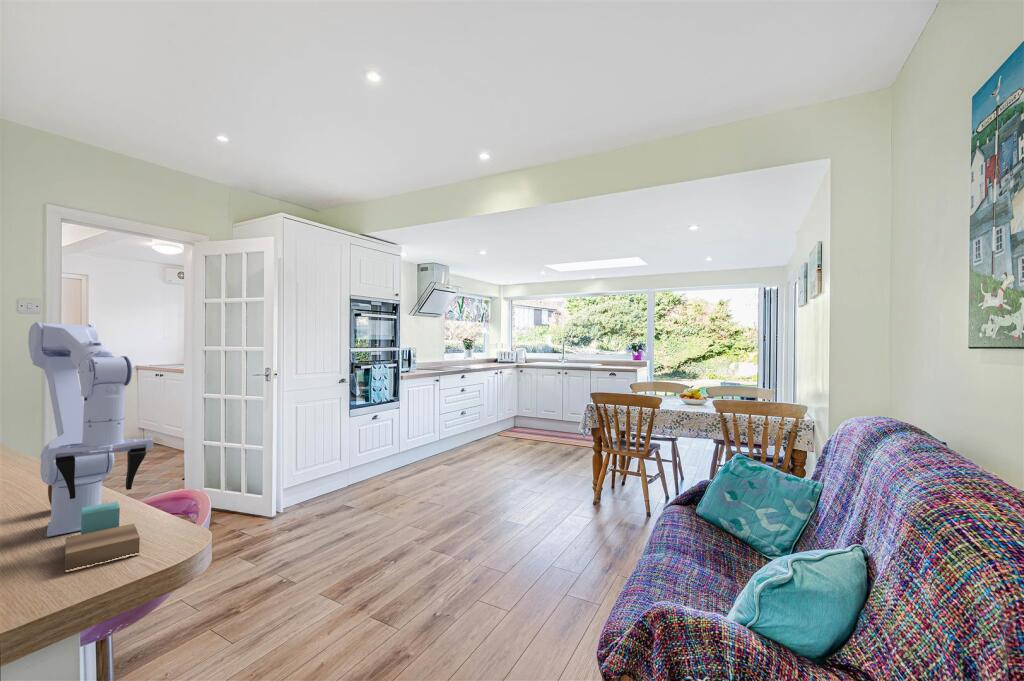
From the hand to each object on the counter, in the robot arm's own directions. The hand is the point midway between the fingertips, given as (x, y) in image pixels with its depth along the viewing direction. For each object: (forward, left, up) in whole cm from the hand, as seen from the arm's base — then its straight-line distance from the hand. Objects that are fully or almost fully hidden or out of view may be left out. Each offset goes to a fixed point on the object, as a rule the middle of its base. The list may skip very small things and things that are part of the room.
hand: (101, 493), depth 82 cm
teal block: (0, 0, -9) cm, 9 cm away
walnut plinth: (+9, 0, -9) cm, 12 cm away
